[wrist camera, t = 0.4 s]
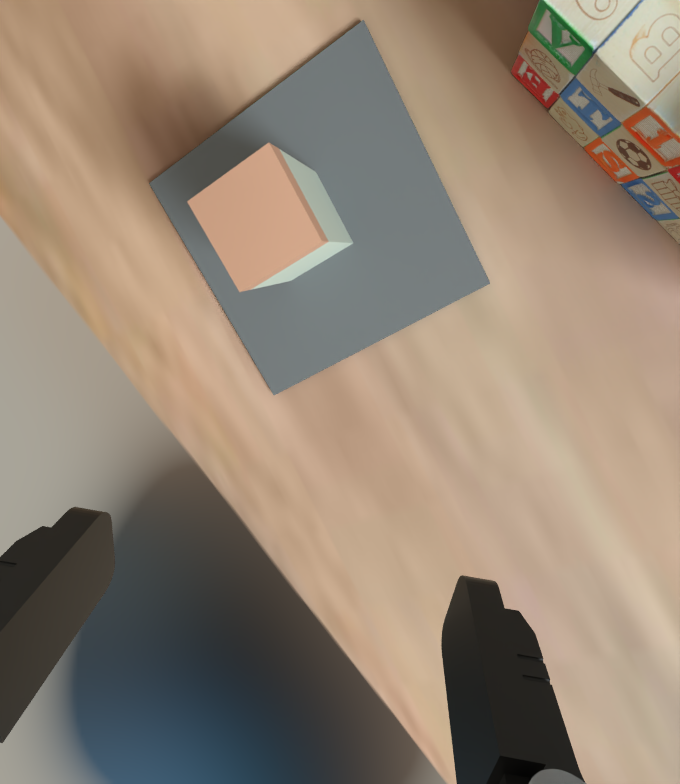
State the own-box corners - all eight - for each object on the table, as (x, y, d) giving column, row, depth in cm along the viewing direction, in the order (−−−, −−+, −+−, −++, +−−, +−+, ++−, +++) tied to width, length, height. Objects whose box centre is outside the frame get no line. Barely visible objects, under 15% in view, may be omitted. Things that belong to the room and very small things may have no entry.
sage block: (315, 172, 30) (268, 142, 22) (353, 243, 31) (322, 241, 23) (253, 214, 32) (186, 201, 23) (290, 280, 33) (239, 292, 24)
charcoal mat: (364, 22, 28) (363, 19, 27) (489, 282, 30) (490, 283, 30) (152, 184, 33) (149, 183, 33) (275, 393, 36) (274, 395, 35)
